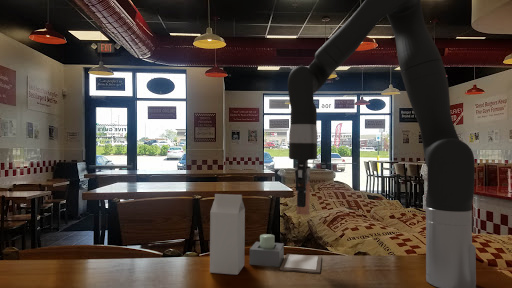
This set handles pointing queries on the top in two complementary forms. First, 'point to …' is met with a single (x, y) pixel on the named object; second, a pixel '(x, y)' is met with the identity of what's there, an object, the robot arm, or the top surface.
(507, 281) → the top surface
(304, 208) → the pink capped bottle
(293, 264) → the picture frame
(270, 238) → the button
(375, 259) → the top surface
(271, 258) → the button box
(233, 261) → the milk carton
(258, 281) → the top surface
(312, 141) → the robot arm
